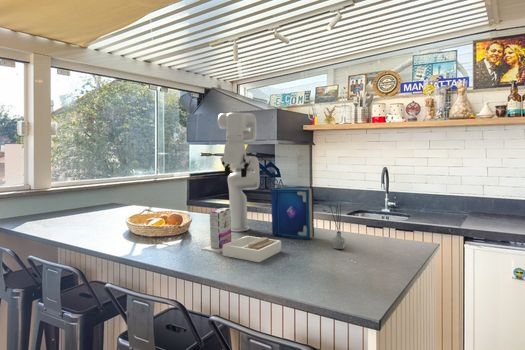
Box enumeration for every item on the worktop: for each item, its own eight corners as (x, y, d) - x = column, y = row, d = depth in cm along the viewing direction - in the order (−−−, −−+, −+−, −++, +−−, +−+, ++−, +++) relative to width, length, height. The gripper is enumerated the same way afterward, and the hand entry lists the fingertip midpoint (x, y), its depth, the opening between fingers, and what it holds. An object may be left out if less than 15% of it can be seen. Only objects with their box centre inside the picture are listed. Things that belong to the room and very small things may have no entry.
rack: (222, 255, 149) (222, 244, 149) (246, 245, 165) (246, 235, 164) (259, 262, 140) (259, 250, 140) (281, 250, 155) (281, 240, 155)
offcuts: (248, 257, 146) (248, 243, 146) (263, 250, 156) (263, 237, 156) (258, 259, 144) (258, 245, 143) (273, 252, 154) (273, 238, 153)
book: (269, 235, 182) (269, 187, 181) (275, 233, 189) (275, 185, 187) (309, 240, 172) (309, 189, 170) (314, 237, 178) (314, 187, 177)
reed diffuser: (342, 252, 153) (342, 205, 151) (326, 250, 156) (326, 204, 154) (347, 246, 162) (347, 202, 160) (332, 244, 165) (332, 201, 163)
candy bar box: (222, 241, 169) (221, 207, 168) (231, 242, 167) (231, 208, 166) (209, 248, 158) (209, 211, 157) (219, 249, 156) (219, 212, 155)
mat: (201, 249, 158) (201, 248, 158) (223, 241, 172) (223, 240, 172) (219, 252, 153) (219, 251, 153) (240, 244, 166) (240, 243, 166)
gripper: (215, 139, 167) (216, 176, 169) (245, 139, 158) (245, 178, 159) (225, 139, 173) (226, 174, 175) (255, 139, 164) (255, 176, 166)
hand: (235, 176), depth 167 cm, fingers open, 9 cm apart
